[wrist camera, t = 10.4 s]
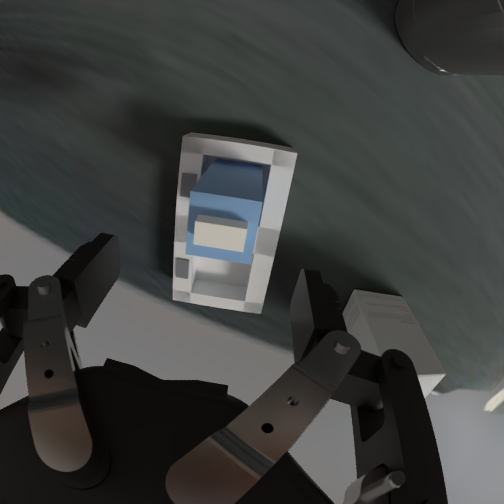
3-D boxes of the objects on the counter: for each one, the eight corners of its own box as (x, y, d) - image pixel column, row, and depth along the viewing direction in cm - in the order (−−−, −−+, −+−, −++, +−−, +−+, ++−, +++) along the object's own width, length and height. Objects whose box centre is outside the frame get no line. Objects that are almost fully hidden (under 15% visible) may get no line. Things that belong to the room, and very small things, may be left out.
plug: (216, 158, 24) (186, 196, 15) (261, 165, 25) (262, 208, 15) (210, 200, 26) (181, 262, 17) (254, 207, 26) (250, 273, 17)
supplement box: (330, 334, 34) (349, 421, 23) (353, 286, 31) (388, 375, 20) (379, 339, 35) (407, 417, 24) (405, 295, 32) (448, 374, 20)
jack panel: (191, 132, 24) (182, 136, 21) (293, 147, 24) (297, 153, 21) (179, 283, 31) (172, 300, 28) (260, 296, 32) (260, 315, 29)
